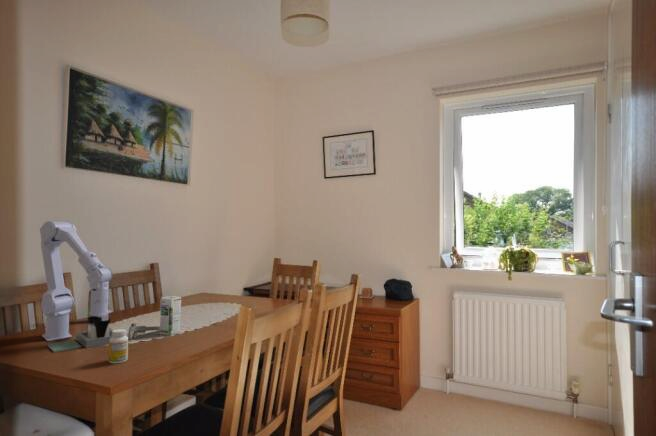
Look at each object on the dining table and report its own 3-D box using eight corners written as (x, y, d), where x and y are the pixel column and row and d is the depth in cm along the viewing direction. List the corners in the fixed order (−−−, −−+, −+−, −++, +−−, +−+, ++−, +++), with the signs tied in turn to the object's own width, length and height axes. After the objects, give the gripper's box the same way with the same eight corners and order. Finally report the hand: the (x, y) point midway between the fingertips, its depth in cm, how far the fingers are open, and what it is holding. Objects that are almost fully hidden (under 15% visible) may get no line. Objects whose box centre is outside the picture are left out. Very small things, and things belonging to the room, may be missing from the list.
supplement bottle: (113, 358, 132) (114, 328, 132) (130, 358, 133) (131, 328, 133) (105, 364, 127) (106, 332, 127) (123, 363, 127) (124, 332, 127)
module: (87, 340, 150) (88, 323, 150) (105, 337, 155) (105, 320, 155) (91, 343, 147) (91, 325, 147) (109, 340, 151) (109, 322, 152)
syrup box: (159, 334, 161) (159, 297, 161) (170, 330, 167) (170, 295, 167) (170, 335, 159) (171, 298, 159) (181, 332, 165) (181, 296, 165)
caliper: (130, 341, 152) (130, 324, 152) (128, 340, 152) (128, 324, 153) (171, 328, 171) (172, 313, 171) (169, 328, 171) (170, 313, 171)
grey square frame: (76, 339, 152) (76, 333, 152) (109, 334, 160) (109, 327, 160) (86, 348, 142) (86, 340, 142) (121, 341, 150) (121, 334, 150)
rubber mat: (47, 345, 144) (47, 344, 144) (73, 341, 150) (73, 339, 150) (53, 352, 137) (53, 350, 137) (80, 347, 142) (80, 346, 142)
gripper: (117, 301, 149) (116, 338, 149) (105, 296, 159) (104, 331, 159) (96, 304, 144) (95, 342, 144) (84, 298, 154) (83, 334, 154)
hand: (98, 336), depth 151 cm, fingers closed on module, 4 cm apart
